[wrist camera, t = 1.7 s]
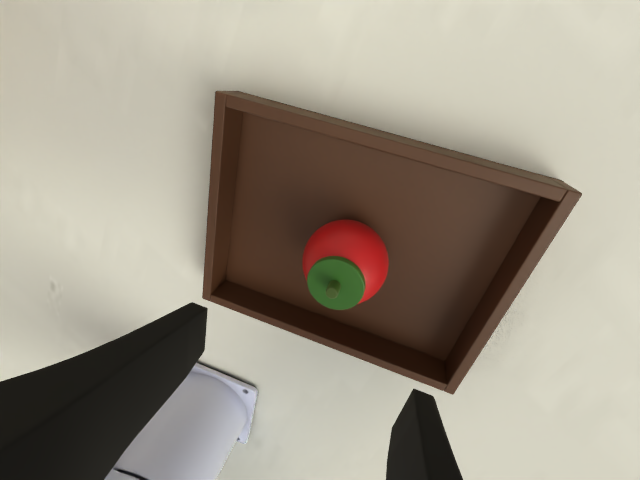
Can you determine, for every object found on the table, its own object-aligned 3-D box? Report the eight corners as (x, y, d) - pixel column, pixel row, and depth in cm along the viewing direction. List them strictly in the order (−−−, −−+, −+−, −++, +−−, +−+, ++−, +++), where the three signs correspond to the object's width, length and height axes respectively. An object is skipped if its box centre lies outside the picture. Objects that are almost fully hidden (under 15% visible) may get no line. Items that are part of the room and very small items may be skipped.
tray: (220, 281, 24) (201, 298, 22) (238, 91, 18) (215, 90, 16) (449, 366, 21) (453, 395, 19) (561, 180, 15) (583, 193, 13)
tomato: (309, 262, 21) (276, 314, 16) (325, 197, 19) (293, 233, 14) (378, 286, 20) (365, 347, 15) (402, 221, 18) (397, 268, 13)
